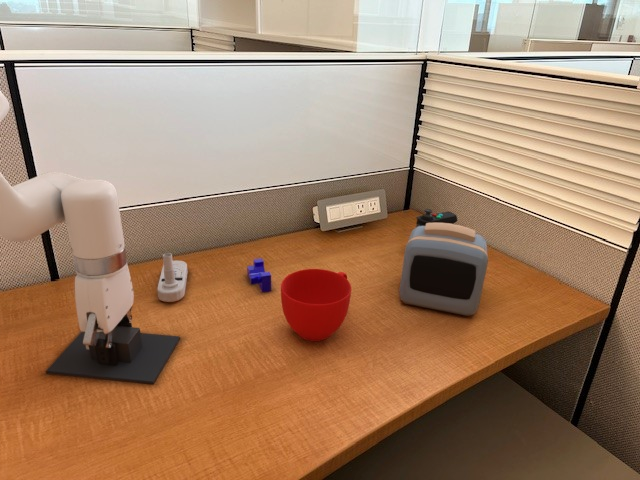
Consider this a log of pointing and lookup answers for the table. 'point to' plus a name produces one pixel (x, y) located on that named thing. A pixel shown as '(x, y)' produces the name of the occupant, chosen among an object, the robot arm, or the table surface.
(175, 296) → the electronic device
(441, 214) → the controller
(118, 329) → the block
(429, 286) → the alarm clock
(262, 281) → the cable holder
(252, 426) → the table surface
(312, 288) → the ceramic cup
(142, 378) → the desk mat
